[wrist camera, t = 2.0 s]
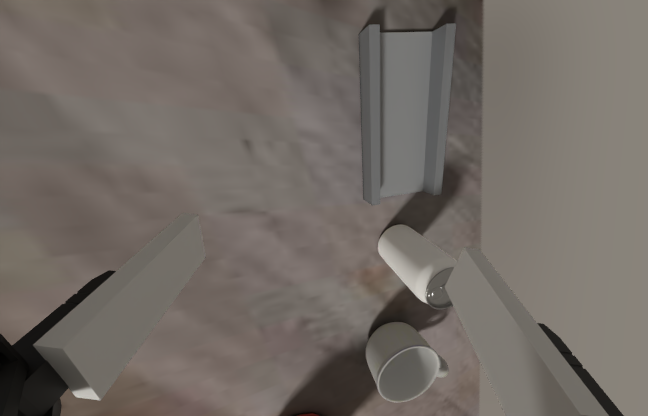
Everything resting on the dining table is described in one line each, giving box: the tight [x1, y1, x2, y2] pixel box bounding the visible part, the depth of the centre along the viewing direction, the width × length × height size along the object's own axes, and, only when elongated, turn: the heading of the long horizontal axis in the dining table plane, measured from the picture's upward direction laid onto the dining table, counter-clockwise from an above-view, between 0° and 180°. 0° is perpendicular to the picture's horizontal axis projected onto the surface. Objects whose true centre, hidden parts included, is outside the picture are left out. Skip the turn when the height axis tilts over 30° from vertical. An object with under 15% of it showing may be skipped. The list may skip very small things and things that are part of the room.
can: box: [378, 224, 457, 310], centre depth 33 cm, size 6×6×12 cm
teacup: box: [366, 322, 449, 402], centre depth 42 cm, size 14×11×8 cm
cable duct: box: [359, 23, 456, 205], centre depth 31 cm, size 20×10×3 cm, turn 5°
